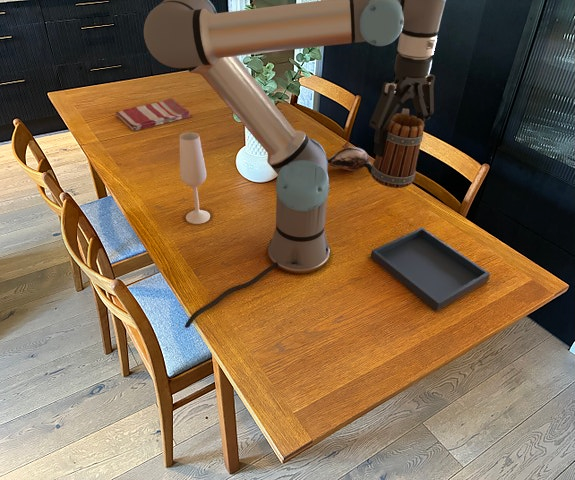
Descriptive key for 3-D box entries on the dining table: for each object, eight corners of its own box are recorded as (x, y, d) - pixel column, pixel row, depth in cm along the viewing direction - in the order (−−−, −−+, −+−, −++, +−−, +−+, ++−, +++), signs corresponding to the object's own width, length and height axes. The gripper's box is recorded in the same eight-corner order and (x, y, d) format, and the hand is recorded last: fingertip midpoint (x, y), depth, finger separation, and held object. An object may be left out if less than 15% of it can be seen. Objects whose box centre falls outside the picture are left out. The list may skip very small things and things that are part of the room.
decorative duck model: (388, 160, 144) (350, 170, 137) (382, 180, 149) (345, 191, 142) (359, 136, 153) (321, 145, 146) (354, 156, 158) (318, 165, 151)
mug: (413, 192, 110) (430, 133, 101) (368, 184, 111) (381, 125, 102) (412, 163, 122) (428, 107, 113) (372, 156, 123) (384, 101, 114)
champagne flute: (186, 210, 131) (176, 130, 116) (210, 209, 131) (203, 130, 116) (184, 224, 125) (174, 142, 111) (209, 223, 126) (202, 142, 111)
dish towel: (191, 116, 180) (191, 110, 178) (133, 131, 168) (132, 124, 167) (171, 102, 190) (170, 96, 188) (115, 115, 178) (114, 109, 177)
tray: (436, 311, 103) (439, 303, 102) (370, 257, 117) (371, 250, 115) (487, 280, 111) (490, 273, 110) (420, 234, 125) (422, 227, 124)
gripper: (386, 68, 91) (370, 167, 104) (465, 51, 101) (441, 143, 115) (361, 57, 95) (348, 153, 109) (439, 42, 106) (419, 132, 120)
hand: (396, 148), depth 112 cm, fingers closed on mug, 11 cm apart
